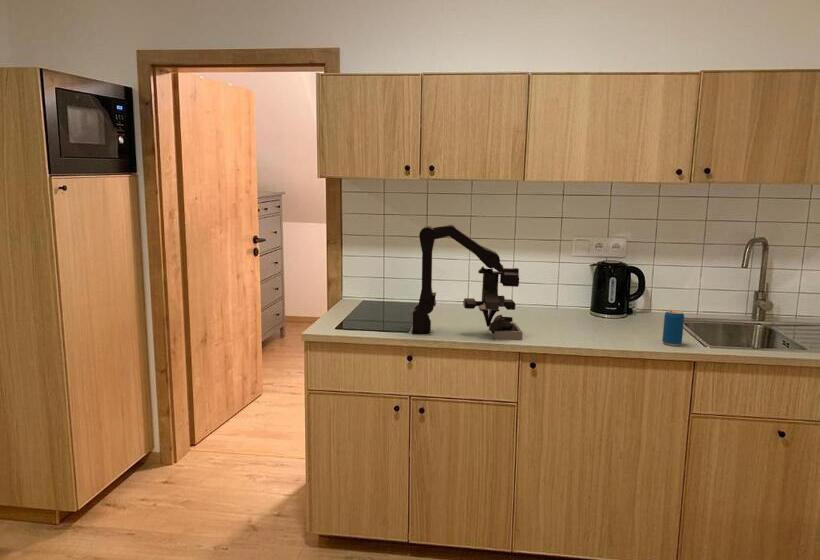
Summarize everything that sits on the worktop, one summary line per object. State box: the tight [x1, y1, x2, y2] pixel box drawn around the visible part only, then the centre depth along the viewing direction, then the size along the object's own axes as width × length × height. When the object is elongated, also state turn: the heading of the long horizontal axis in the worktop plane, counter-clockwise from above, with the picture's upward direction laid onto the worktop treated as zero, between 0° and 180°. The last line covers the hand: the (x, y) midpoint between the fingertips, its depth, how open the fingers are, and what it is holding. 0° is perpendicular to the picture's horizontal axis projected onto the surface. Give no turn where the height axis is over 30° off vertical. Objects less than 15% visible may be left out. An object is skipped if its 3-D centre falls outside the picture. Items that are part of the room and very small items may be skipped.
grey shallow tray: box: [488, 321, 523, 341], centre depth 238 cm, size 10×14×3 cm
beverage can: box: [662, 309, 685, 347], centre depth 228 cm, size 6×6×12 cm
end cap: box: [490, 314, 514, 336], centre depth 237 cm, size 10×7×7 cm
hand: (487, 326), depth 238 cm, fingers closed
